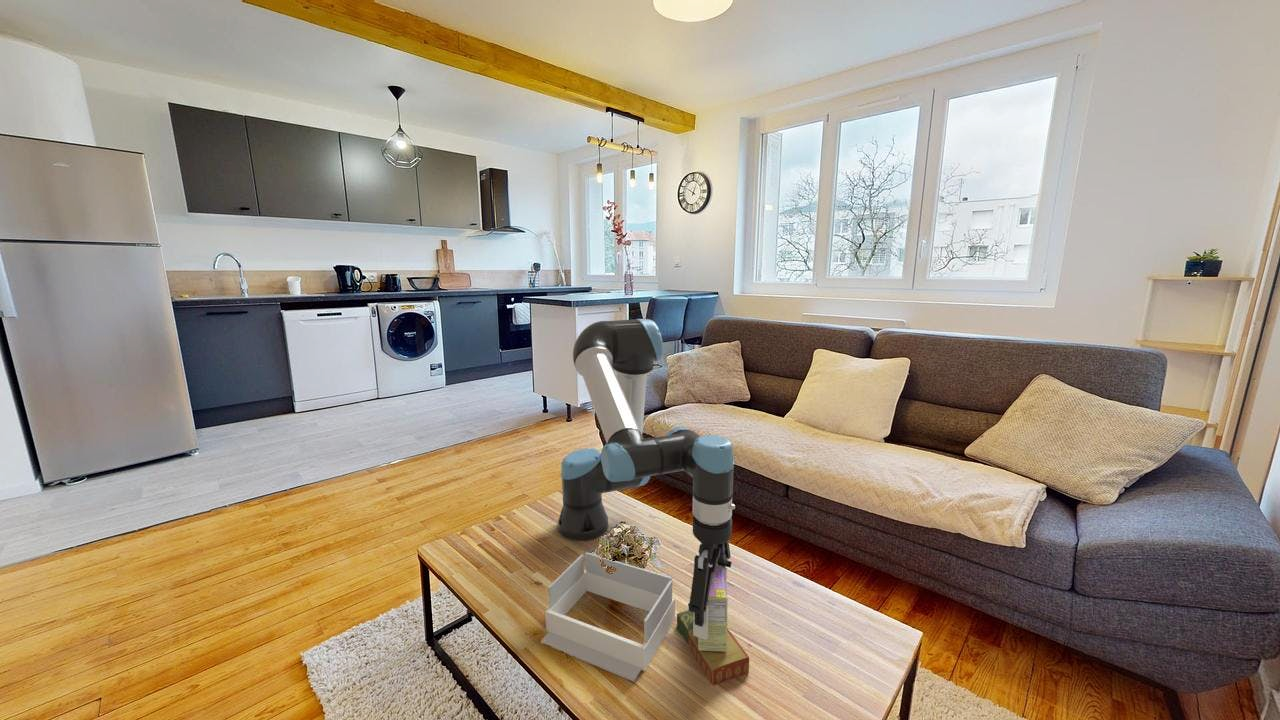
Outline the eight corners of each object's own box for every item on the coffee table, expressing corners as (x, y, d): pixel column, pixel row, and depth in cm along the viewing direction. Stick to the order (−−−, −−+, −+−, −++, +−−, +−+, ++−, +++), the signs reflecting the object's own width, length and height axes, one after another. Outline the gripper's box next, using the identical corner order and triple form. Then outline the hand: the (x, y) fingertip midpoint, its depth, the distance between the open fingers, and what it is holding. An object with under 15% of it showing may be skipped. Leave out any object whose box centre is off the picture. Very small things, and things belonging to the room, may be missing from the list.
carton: (711, 689, 86) (711, 669, 86) (675, 628, 101) (675, 611, 100) (749, 675, 89) (750, 656, 88) (709, 618, 104) (709, 601, 103)
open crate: (537, 641, 97) (534, 599, 95) (585, 587, 114) (584, 550, 112) (638, 683, 87) (637, 637, 85) (675, 617, 103) (675, 577, 101)
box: (696, 613, 100) (696, 563, 98) (723, 614, 99) (723, 564, 97) (697, 651, 89) (697, 596, 87) (727, 653, 89) (728, 598, 87)
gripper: (711, 555, 77) (710, 666, 81) (746, 493, 98) (743, 583, 102) (670, 544, 80) (670, 651, 84) (712, 486, 102) (711, 574, 106)
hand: (710, 614), depth 93 cm, fingers open, 12 cm apart
